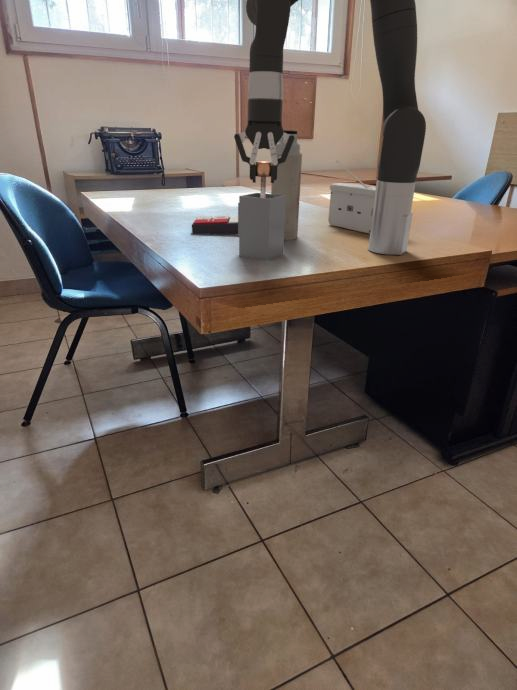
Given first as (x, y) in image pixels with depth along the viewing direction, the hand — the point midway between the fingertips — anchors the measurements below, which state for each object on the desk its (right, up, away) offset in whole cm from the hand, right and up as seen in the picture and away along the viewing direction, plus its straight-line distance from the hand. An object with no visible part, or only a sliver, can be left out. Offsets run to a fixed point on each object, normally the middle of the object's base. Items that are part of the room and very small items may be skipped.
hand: (263, 182), depth 104 cm
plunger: (0, -14, +7) cm, 16 cm away
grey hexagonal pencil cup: (-1, -15, +8) cm, 17 cm away
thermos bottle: (+6, -6, +27) cm, 28 cm away
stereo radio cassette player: (+30, -1, +40) cm, 50 cm away
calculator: (-13, -3, +33) cm, 36 cm away
